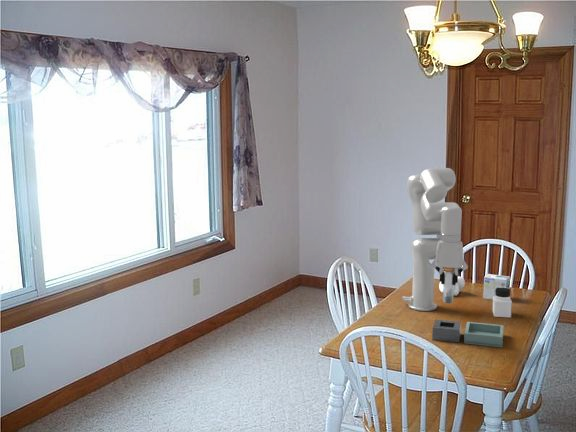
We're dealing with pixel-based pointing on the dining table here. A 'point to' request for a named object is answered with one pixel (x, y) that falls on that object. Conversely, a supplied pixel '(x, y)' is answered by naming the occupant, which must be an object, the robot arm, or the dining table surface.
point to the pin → (448, 285)
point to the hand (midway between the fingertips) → (448, 283)
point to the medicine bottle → (502, 303)
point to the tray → (484, 334)
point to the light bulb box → (494, 284)
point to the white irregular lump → (455, 286)
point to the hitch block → (446, 330)
